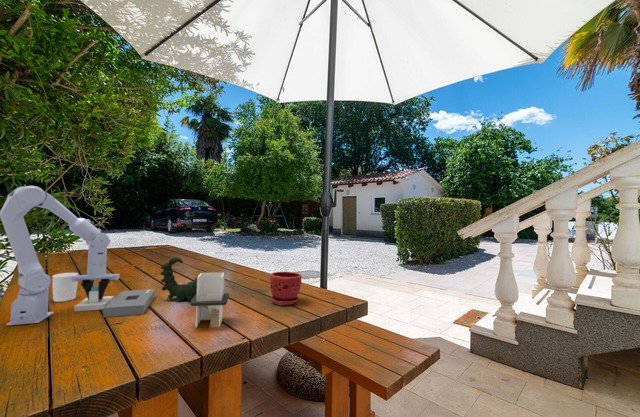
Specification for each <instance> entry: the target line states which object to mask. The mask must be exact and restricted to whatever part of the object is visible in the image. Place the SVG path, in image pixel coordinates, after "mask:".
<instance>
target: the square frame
mask: <svg viewBox="0 0 640 417" xmlns="http://www.w3.org/2000/svg"><path fill="white" fill-rule="evenodd" d="M114 298H115V295H106V296H105V295H104V296H103V298H102V300H101V301H100V302H99V303H89V300H88V298H87V297H85V298H84V299H83V300H81V301H80V302H78V303H77V304H75V305H74V308H73V310H74V312H85V311H96V310H97V311H98V310H104V307H105V306H107V305H108V304H109V303H110V302H111V301H112V300H113V299H114Z"/></svg>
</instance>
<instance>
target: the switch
mask: <svg viewBox="0 0 640 417" xmlns="http://www.w3.org/2000/svg"><path fill="white" fill-rule="evenodd" d="M155 298H156V288H155V289H154V288H151V289H136V290H135V289H134V290H122V291H121V292H120V293H118V294H117V295H116V296H114V299H113V300H112V301H111V302H110V303H109V304H108V305H107V306H105V307H104V309H103V312H102V313H103V314H102V315H103V318H112V317H124V316H125V317H126V316H137V315H144V314H145V313H146V311H147V310H148V308H149V307H150V305H151V304H152V302H153V301H154V299H155Z"/></svg>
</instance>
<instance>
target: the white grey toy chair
mask: <svg viewBox="0 0 640 417" xmlns="http://www.w3.org/2000/svg"><path fill="white" fill-rule="evenodd" d="M197 276H198V277H197ZM197 276H196V277H197V294H196V295H195V296H194V297H193V299H192V300H191V301H189V304H190V306H191V307H195V309H196V310H195V328H197V327H198V326H199V324H200V322H201V321H210V322H209V328H218V327H220V326H221V325H222V320H223V308H224V306H226V305H227V303H228V301H229V296H230V293H227V292H225V291H224V290H225V272H202V273H201V272H200V274H199V275H197Z"/></svg>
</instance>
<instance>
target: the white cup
mask: <svg viewBox="0 0 640 417" xmlns="http://www.w3.org/2000/svg"><path fill="white" fill-rule="evenodd" d="M77 275H79V273H78V272H63V273H58V274H54V275H52V296H53V297H52V300H53V302H58V303H60V302H61V303H62V302H69V301H72V300H75V299H76V297H77V290H78V282H79V281H76V282H72V277H73V276H77Z"/></svg>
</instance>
